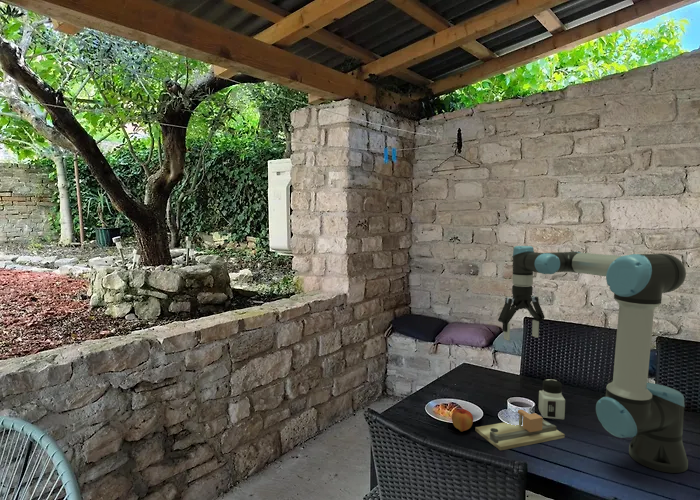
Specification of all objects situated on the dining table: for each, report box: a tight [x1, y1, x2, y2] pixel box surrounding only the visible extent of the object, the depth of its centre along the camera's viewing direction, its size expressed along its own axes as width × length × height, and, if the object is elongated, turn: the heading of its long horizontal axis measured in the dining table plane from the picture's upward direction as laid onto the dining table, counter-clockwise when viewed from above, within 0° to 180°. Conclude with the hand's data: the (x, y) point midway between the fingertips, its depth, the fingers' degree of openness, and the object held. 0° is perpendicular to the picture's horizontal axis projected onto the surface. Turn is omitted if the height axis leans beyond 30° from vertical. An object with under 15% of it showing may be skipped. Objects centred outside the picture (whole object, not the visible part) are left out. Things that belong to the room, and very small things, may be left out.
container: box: [538, 378, 566, 420], centre depth 170 cm, size 8×8×13 cm
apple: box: [451, 406, 474, 432], centre depth 158 cm, size 7×7×8 cm
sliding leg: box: [517, 409, 544, 432], centre depth 155 cm, size 8×5×6 cm, turn 18°
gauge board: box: [474, 419, 566, 451], centre depth 155 cm, size 14×26×4 cm, turn 108°
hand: (521, 338), depth 177 cm, fingers open, 13 cm apart
